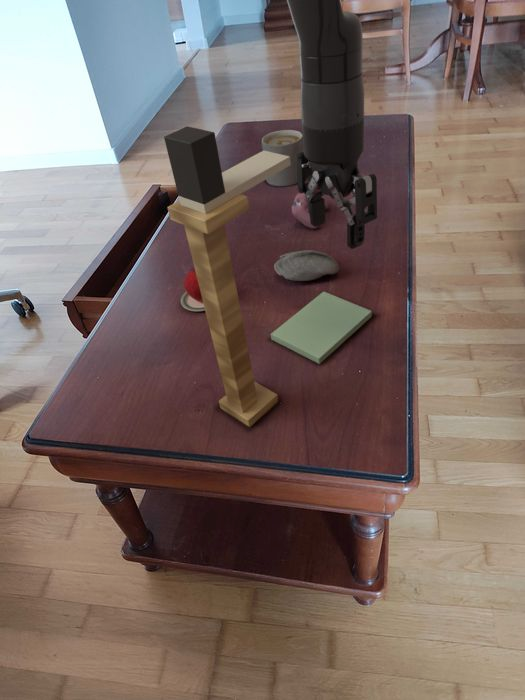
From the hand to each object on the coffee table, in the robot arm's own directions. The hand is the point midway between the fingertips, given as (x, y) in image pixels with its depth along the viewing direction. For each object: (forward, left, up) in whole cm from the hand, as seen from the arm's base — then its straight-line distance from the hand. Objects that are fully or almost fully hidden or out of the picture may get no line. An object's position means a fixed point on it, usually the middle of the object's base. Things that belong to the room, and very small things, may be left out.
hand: (335, 234), depth 73 cm
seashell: (+14, -9, -17) cm, 24 cm away
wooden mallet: (0, +17, +14) cm, 22 cm away
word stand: (0, +21, -17) cm, 27 cm away
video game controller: (+27, -26, -17) cm, 42 cm away
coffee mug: (+47, -41, -17) cm, 65 cm away
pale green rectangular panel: (+2, +2, -17) cm, 17 cm away
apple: (+25, +8, -17) cm, 32 cm away
